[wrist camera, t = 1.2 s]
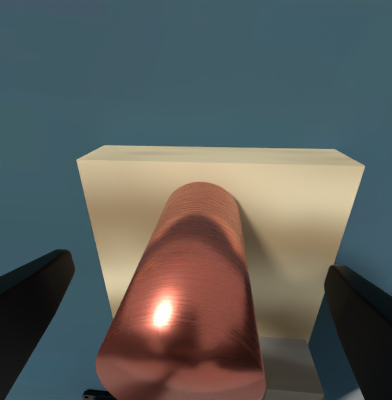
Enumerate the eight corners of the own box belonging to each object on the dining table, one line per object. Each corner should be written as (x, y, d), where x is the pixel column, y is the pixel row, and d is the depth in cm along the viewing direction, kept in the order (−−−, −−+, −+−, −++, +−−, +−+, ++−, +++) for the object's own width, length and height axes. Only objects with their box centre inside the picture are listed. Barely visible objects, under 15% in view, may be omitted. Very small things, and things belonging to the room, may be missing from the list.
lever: (227, 405, 19) (232, 571, 12) (173, 399, 19) (149, 558, 13) (251, 181, 10) (302, 334, 4) (154, 178, 11) (57, 316, 4)
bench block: (276, 379, 22) (294, 471, 17) (142, 366, 23) (119, 449, 18) (334, 149, 13) (417, 194, 7) (104, 145, 14) (31, 183, 9)
